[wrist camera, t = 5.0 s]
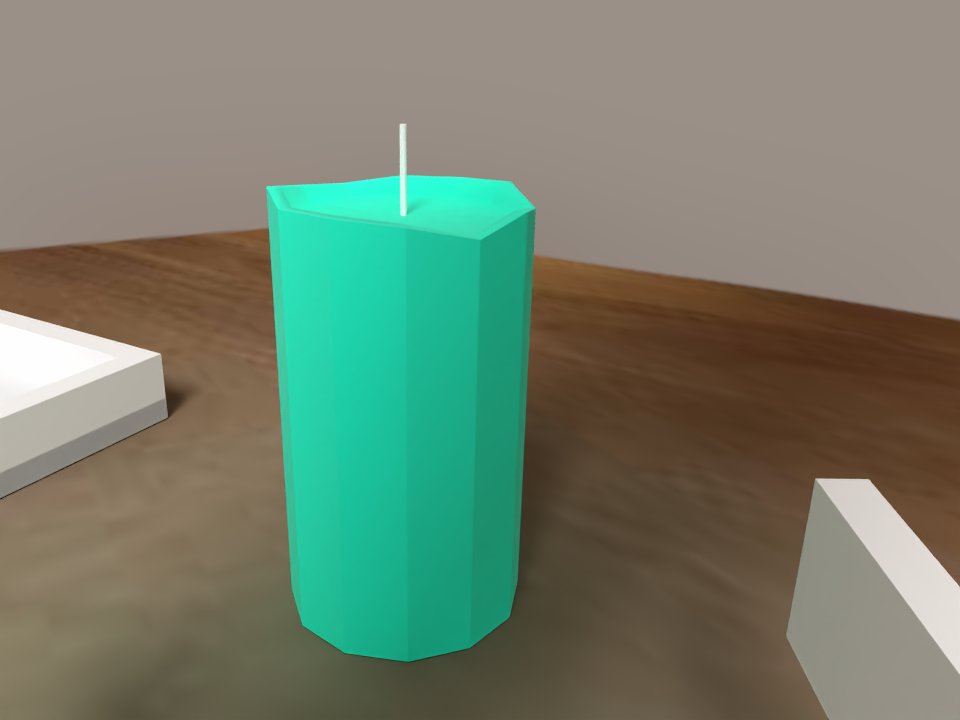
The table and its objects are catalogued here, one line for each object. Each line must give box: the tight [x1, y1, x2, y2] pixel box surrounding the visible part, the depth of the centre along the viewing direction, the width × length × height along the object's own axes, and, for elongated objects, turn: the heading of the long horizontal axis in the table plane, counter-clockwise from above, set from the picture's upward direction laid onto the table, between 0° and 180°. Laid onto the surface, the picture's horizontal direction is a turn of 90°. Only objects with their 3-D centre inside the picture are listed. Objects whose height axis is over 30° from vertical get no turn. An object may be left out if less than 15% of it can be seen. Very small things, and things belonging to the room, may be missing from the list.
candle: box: [267, 124, 536, 662], centre depth 22 cm, size 6×6×12 cm
